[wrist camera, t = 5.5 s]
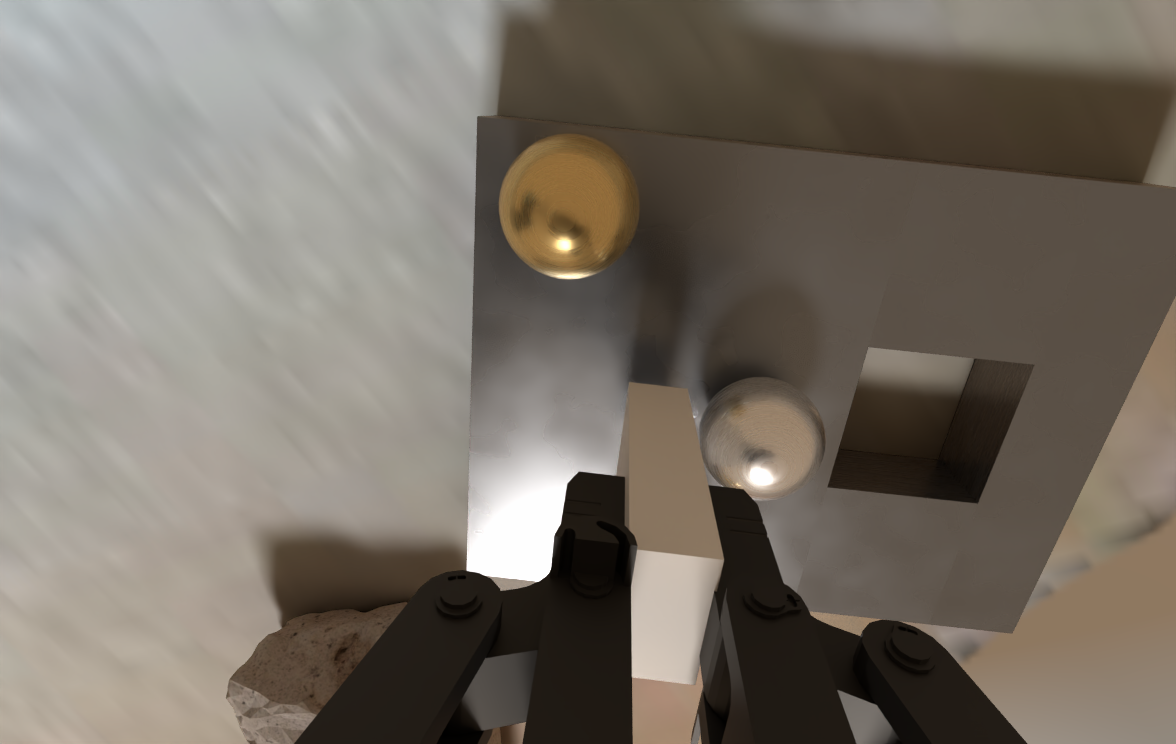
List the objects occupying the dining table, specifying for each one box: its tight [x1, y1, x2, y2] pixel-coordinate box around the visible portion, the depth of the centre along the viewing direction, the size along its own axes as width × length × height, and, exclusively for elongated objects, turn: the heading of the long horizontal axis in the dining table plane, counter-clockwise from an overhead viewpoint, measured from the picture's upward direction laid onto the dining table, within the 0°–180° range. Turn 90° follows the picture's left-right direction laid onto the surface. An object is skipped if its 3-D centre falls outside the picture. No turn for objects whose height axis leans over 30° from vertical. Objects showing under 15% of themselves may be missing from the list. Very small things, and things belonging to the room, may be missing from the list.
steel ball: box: [698, 377, 826, 501], centre depth 16 cm, size 3×3×3 cm
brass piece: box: [499, 134, 640, 279], centre depth 14 cm, size 3×3×3 cm
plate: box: [467, 115, 1176, 633], centre depth 19 cm, size 18×14×2 cm
